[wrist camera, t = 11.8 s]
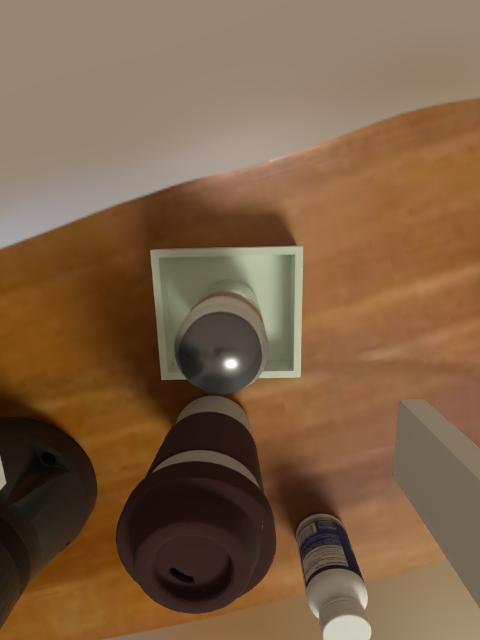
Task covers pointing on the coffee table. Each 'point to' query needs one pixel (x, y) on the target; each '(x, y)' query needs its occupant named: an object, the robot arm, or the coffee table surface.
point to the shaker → (223, 339)
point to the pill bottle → (332, 578)
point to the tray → (242, 265)
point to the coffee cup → (200, 513)
